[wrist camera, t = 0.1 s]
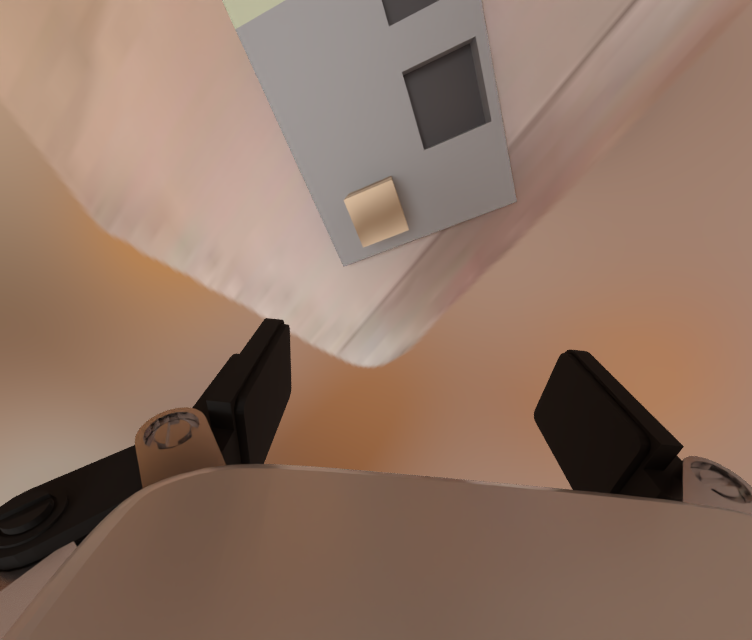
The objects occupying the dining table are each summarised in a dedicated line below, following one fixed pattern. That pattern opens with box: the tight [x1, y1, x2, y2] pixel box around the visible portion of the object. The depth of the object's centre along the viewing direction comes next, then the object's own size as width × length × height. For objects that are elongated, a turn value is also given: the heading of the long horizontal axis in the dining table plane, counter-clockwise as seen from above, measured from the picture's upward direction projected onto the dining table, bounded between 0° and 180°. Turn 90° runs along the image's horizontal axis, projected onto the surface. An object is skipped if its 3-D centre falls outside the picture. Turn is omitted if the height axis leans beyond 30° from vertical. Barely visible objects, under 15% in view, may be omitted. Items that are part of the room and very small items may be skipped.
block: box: [344, 176, 409, 248], centre depth 34 cm, size 5×5×5 cm
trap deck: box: [222, 0, 517, 266], centre depth 30 cm, size 32×21×6 cm, turn 21°
